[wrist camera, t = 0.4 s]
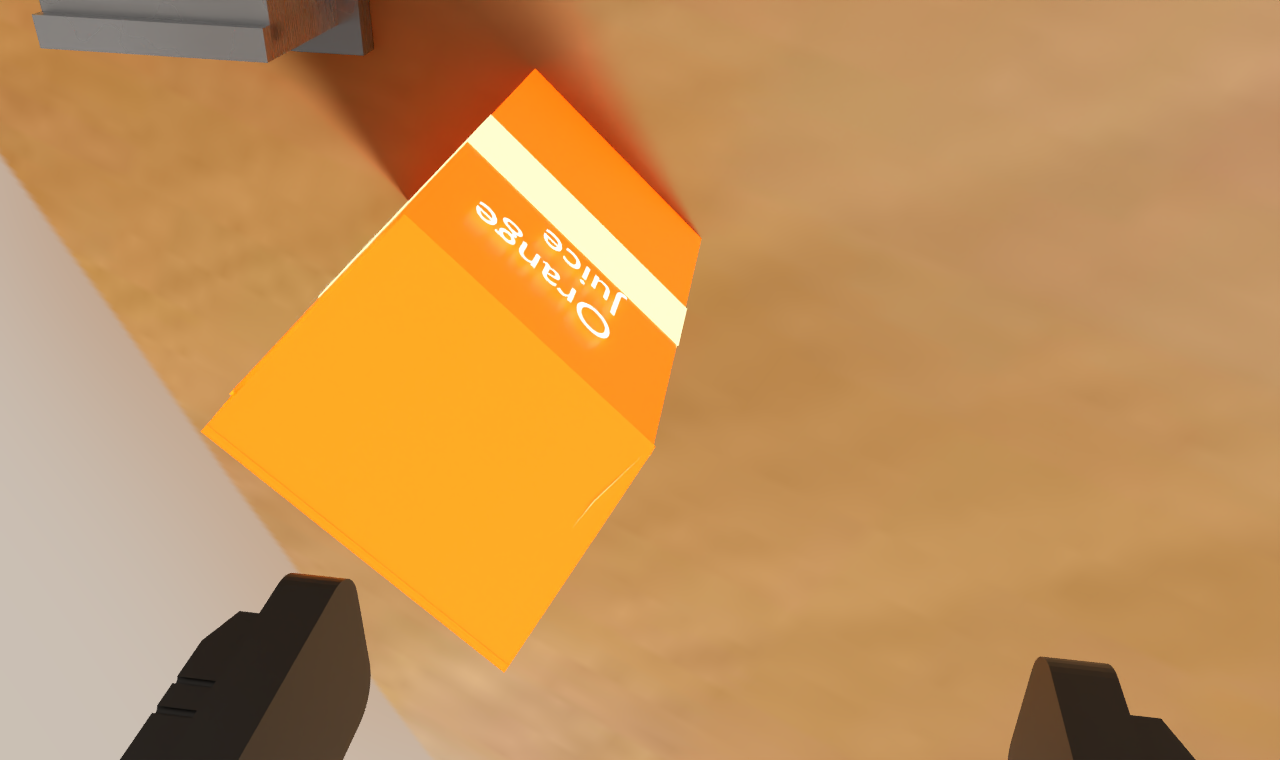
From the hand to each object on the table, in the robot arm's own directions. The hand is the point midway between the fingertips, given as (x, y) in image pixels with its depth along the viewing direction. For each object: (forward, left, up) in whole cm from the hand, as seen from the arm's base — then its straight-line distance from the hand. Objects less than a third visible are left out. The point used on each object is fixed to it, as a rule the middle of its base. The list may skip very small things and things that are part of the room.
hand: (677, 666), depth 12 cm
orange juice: (+6, -8, -28) cm, 29 cm away
